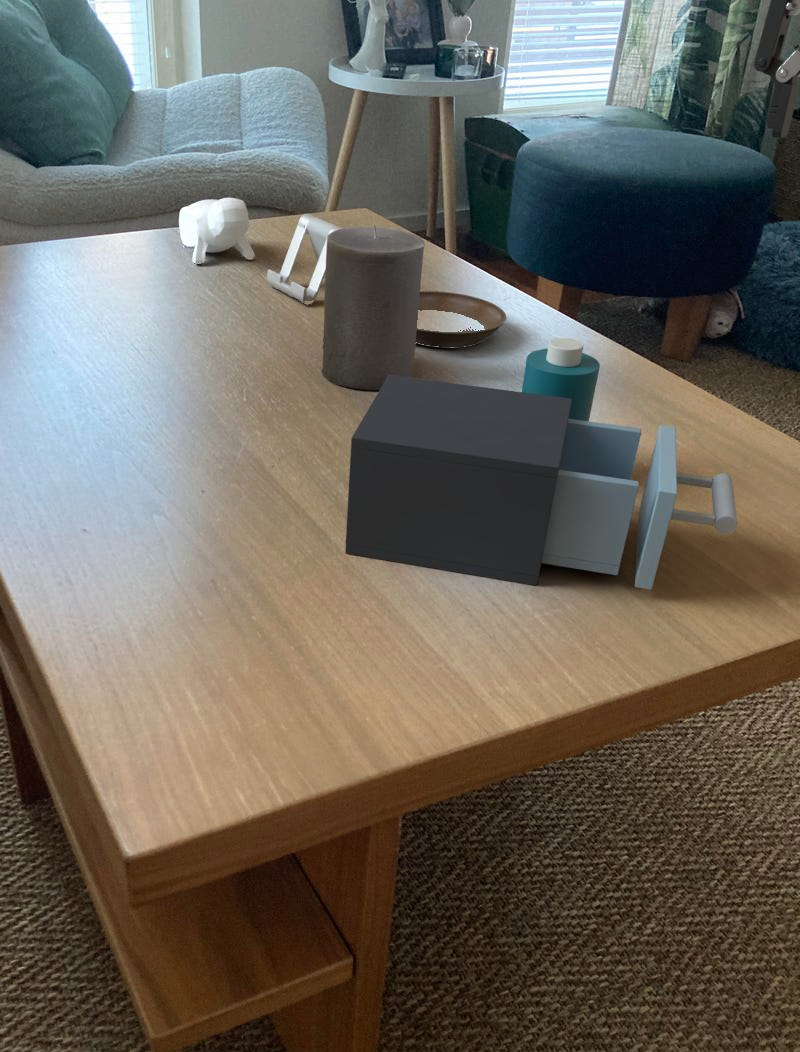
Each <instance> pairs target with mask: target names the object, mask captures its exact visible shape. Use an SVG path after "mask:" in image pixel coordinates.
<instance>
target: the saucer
mask: <svg viewBox="0 0 800 1052" xmlns="http://www.w3.org/2000/svg"><path fill="white" fill-rule="evenodd" d="M419 310H420V311H422V310H437V311H445V312H453V313H457V314H461V315H464V316H466V317H469V318H472V319H474V320H477V321H478V322H479V323H480V324H481V325H483V326H484V329H485V330H480V331H479V330H478V331H474V330H473V329H472V331H471V330H470V329H469V328H468V329H469V331H468V330H467V329H466V331H465V330H463V331H462V332H459V331H458V332H439V331H430V330H424V329H418V328H417V332H416V342H417V343H420V344H424V345H430V346H439V347H459V348H465V347H464V346H467V347H471V346H470V345H472V346H474V344H475V345H478V344H480V343H482V342H484V341H486V340H487V339H488V338H490V337H491V336H492V335H494V334H495V333H496V332H497V331H498V330H500V328H501V327H502V326H503V325H504V323H505V322H506V320H507V314H506V312H505V311H504V309H502V308H501V307H499V306H498V305H496V304H495V303H493V302H491V301H488V300H486V299H482V298H479V297H476V296H472V295H468V294H463V293H457V292H450V291H436V290H422V291H421V290H420V296H419ZM470 328H471V327H470ZM475 330H476V329H475ZM460 331H461V330H460ZM477 343H478V344H477ZM436 348H437V349H439V348H438V347H436Z"/></svg>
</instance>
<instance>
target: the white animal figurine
mask: <svg viewBox="0 0 800 1052" xmlns="http://www.w3.org/2000/svg"><path fill="white" fill-rule="evenodd" d="M249 225H250V217H249V211H248V208H247V205H246V203H245V201H244V200H243V199H239V198H236V197H223V198H220V199H213V198H211V199H202V200H198V201H196V202H193V203H191V204H190V205H187V206H183V207H181V208H180V211H179V216H178V227H179V235H180V241H181V242H182V244H184V245H186V246H187V247H186V248H194V249H193V253H192V257H191V258H192V264H193V265H195V264H194V263H196V264H197V263H203V264H204V263H205V262H206V253H221V252H225V251H226V250H229V249H231V248H234V249H235V250H237V251H238V252H239V253H240V255H241V256H242V257H243V256H244V257H246V258H250V257H254V256H255V257H256V254H255V251H254V250H253V248H252V246H251V244H250V243H249V241H248V239H247V238H246V236H245V234H247V232H248V231H249ZM182 246H183V245H182ZM183 248H185V247H184V246H183ZM193 262H194V263H193Z"/></svg>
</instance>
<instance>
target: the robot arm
mask: <svg viewBox="0 0 800 1052" xmlns="http://www.w3.org/2000/svg"><path fill="white" fill-rule="evenodd" d="M799 14H800V0H770V2H769V6H768V9H767V14H766V17H765V20H764V24H763V29H762V32H761V35H760V39H759V43H758V46H757V50H756V54H755V57H754V61H753V66H754V69H755V71H756V72H760V73H763V74H766V75H767V76H769V77H771V79H773V81H774V87H773V92H772V96H771V101H770V105H769V109H768V114H767V118H766V125H767V129H772V131H771V137H772V138H780V139H782V138H787V136H788V134H789V132H790V127H791V122H792V118H793V114H794V111H795V107H796V102H797V98H798V94H799V90H800V82H798V78H799V77H800V43H799V45H798V46H797V48H796V49H795V50H794V51H793V52H792V53H791V54H790V55H789V57H787V58H783V57H781V56H782V53H783V49H784V45H785V41H786V38H787V34H788V32H789V27H790V25H791V20H792V18H793V17H794V16H798V15H799Z"/></svg>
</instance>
